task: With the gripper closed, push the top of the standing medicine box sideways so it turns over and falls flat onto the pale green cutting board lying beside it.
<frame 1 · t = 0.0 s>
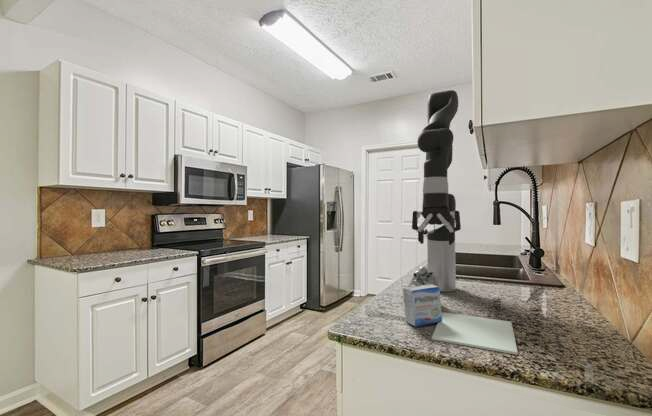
hand: (435, 244, 98), 17 cm above the worktop, tool pointing down, fingers open, 8 cm apart
heart: (422, 304, 93), on the worktop
cutting board: (473, 331, 72), on the worktop
medicine box: (423, 322, 78), on the worktop, touching cutting board
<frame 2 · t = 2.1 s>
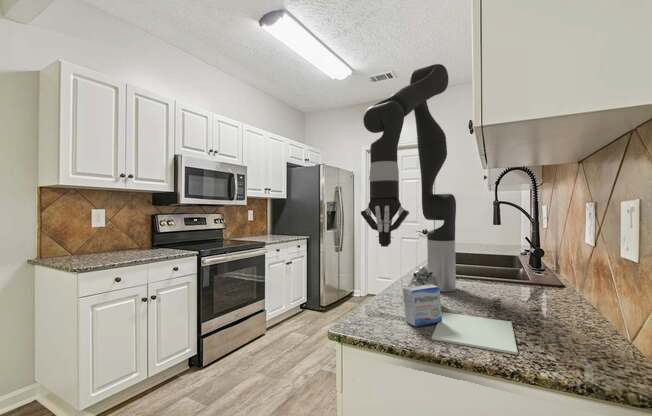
hand: (384, 246, 82), 19 cm above the worktop, tool pointing down, fingers closed
nothing on the worktop moved.
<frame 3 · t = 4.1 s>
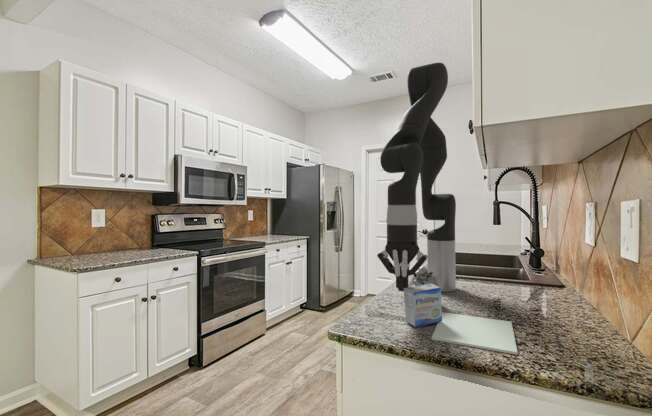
hand: (402, 290, 80), 8 cm above the worktop, tool pointing down, fingers closed
medicine box: (423, 321, 78), on the worktop, touching cutting board, gripper
everything else where it was.
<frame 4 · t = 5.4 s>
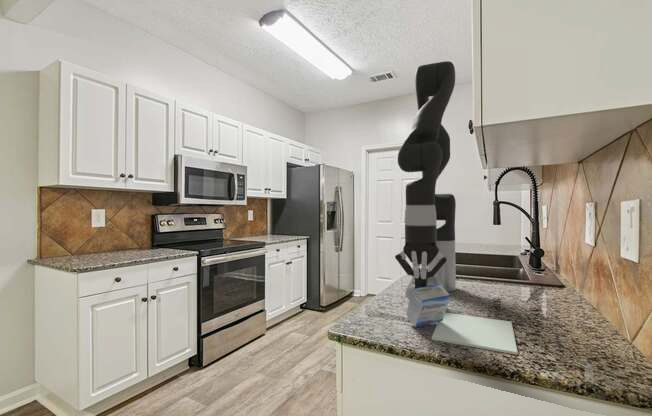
hand: (421, 292, 78), 8 cm above the worktop, tool pointing down, fingers closed
medicine box: (423, 318, 78), point 1 cm above the worktop, touching cutting board
everything else where it was.
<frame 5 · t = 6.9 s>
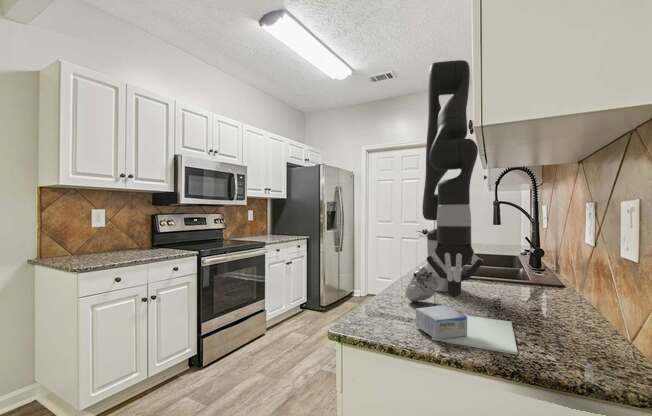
hand: (454, 296, 74), 8 cm above the worktop, tool pointing down, fingers closed
medicine box: (429, 314, 76), point 3 cm above the worktop, touching cutting board
everything else where it was.
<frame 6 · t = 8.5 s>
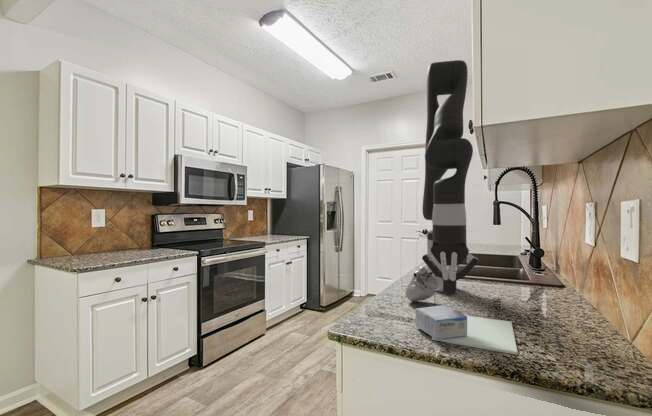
hand: (449, 295, 75), 8 cm above the worktop, tool pointing down, fingers closed
nothing on the worktop moved.
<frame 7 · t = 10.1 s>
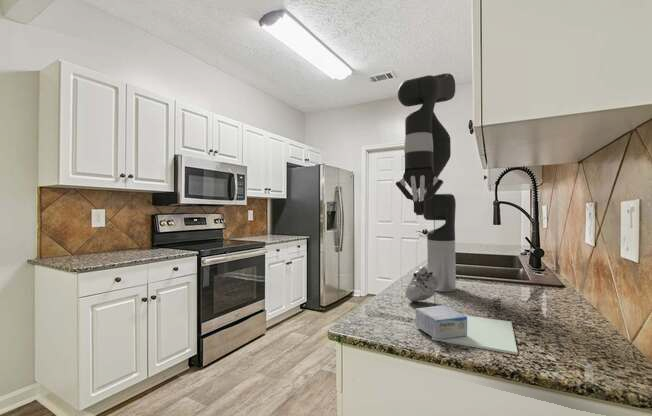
hand: (419, 214, 85), 27 cm above the worktop, tool pointing down, fingers closed
nothing on the worktop moved.
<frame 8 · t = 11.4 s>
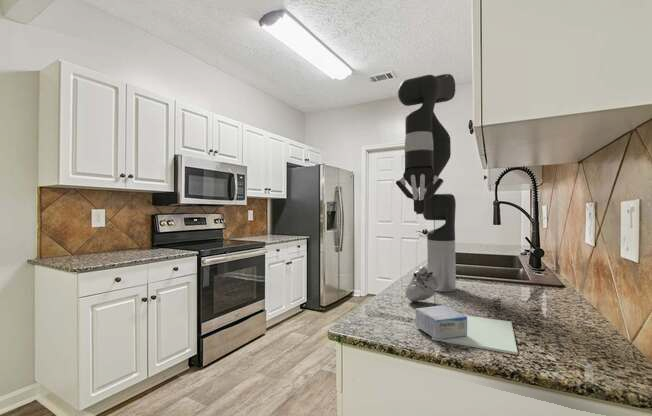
hand: (419, 213, 86), 27 cm above the worktop, tool pointing down, fingers closed
nothing on the worktop moved.
at the end: medicine box tilted 90°; medicine box inside the target area on the cutting board (7.9 cm from its centre), point 2.7 cm above the cutting board's base; the gripper is holding nothing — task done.
